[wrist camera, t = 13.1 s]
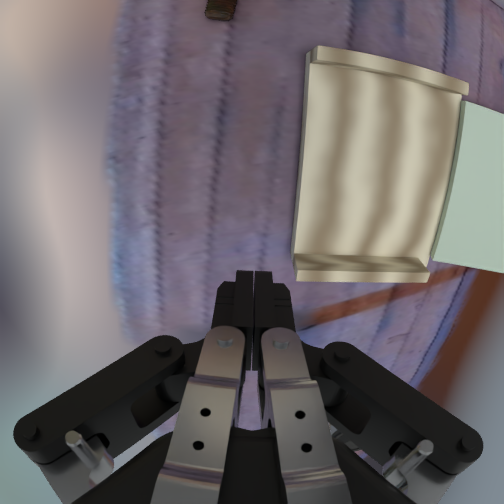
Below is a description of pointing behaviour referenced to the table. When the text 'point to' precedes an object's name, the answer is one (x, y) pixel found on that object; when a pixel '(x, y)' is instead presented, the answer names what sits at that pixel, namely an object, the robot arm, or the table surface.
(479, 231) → the panel
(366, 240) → the cart bed
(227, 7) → the bolt
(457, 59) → the table surface
